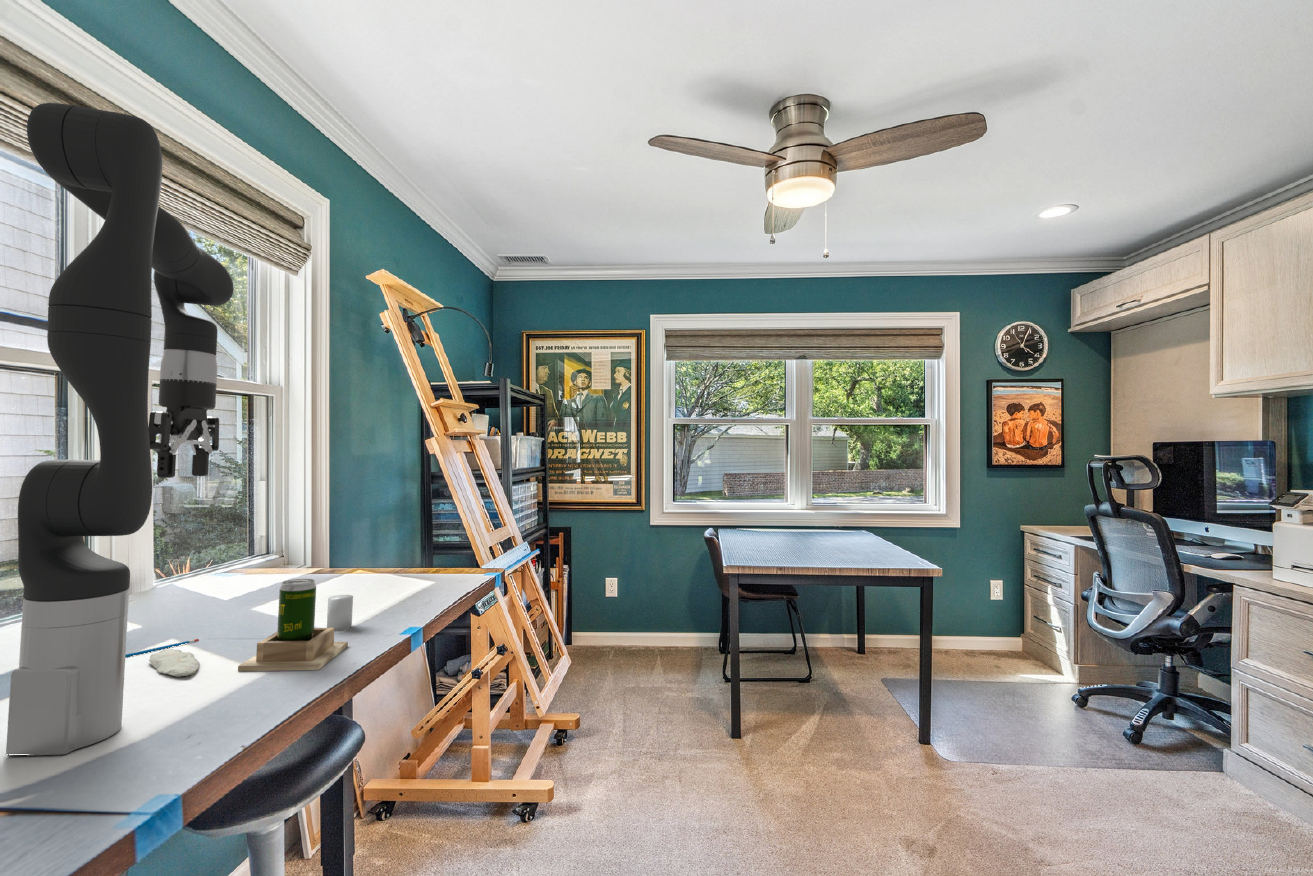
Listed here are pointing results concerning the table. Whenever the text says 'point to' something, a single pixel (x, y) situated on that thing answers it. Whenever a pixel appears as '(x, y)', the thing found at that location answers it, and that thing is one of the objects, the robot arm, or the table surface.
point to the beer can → (296, 610)
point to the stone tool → (174, 662)
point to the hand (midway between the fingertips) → (183, 476)
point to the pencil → (159, 648)
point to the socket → (294, 653)
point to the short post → (340, 612)
